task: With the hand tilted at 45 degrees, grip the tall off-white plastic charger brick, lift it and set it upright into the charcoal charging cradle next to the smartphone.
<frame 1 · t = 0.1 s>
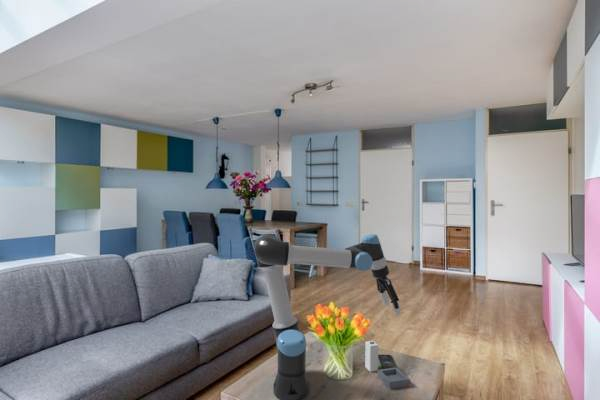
hand: (392, 309, 166), 28 cm above the table, tool tilted 20°, fingers open, 13 cm apart
charging cradle: (393, 381, 155), on the table
smartphone: (386, 363, 172), on the table
charger: (371, 368, 166), on the table
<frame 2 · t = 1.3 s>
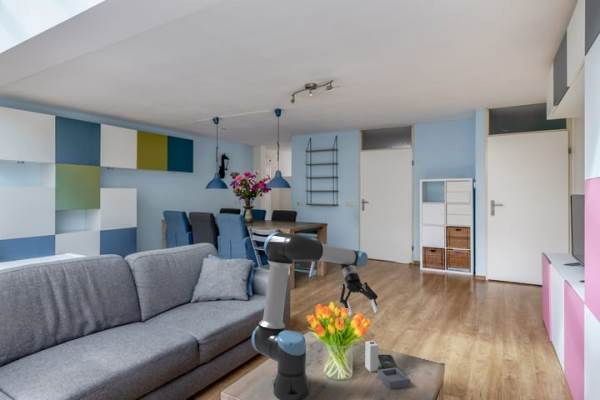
hand: (363, 313, 174), 23 cm above the table, tool tilted 45°, fingers open, 13 cm apart
nothing on the table moved.
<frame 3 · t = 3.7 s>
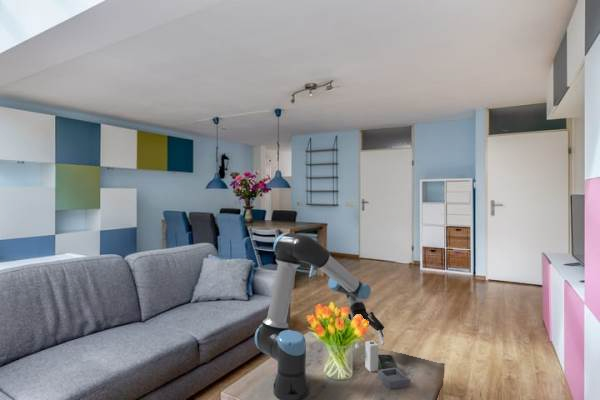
hand: (370, 346, 170), 9 cm above the table, tool tilted 45°, fingers open, 13 cm apart
nothing on the table moved.
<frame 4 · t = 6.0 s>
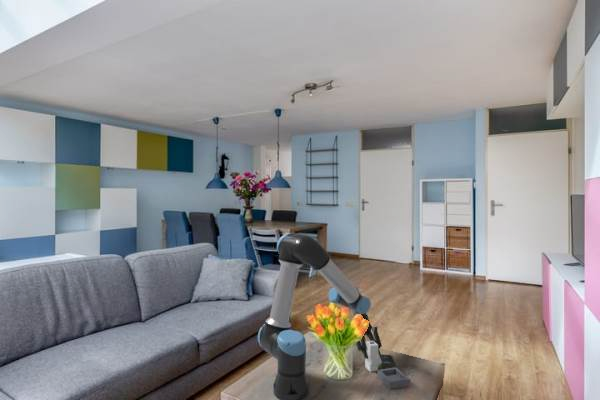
hand: (375, 364, 162), 4 cm above the table, tool tilted 45°, fingers closed on charger, 4 cm apart
charger: (371, 368, 166), on the table, touching gripper
everything else where it was.
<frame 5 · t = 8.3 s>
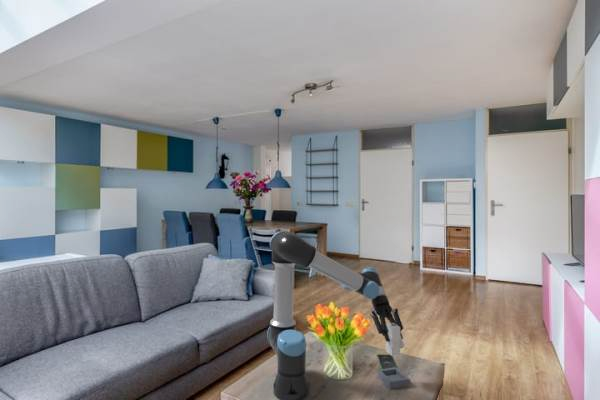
hand: (397, 347, 152), 16 cm above the table, tool tilted 45°, fingers closed on charger, 4 cm apart
charger: (392, 352, 155), point 12 cm above the table, touching gripper
everything else where it was.
when the fingers open (6 cm above the table, at t = 10.9 s): charger drops 1 cm, resting on charging cradle.
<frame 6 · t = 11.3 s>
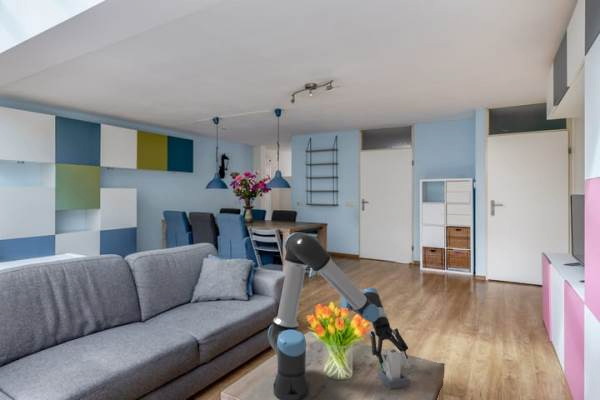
hand: (397, 369, 152), 7 cm above the table, tool tilted 45°, fingers open, 9 cm apart
charger: (393, 378, 155), point 1 cm above the table, touching charging cradle
everything else where it was.
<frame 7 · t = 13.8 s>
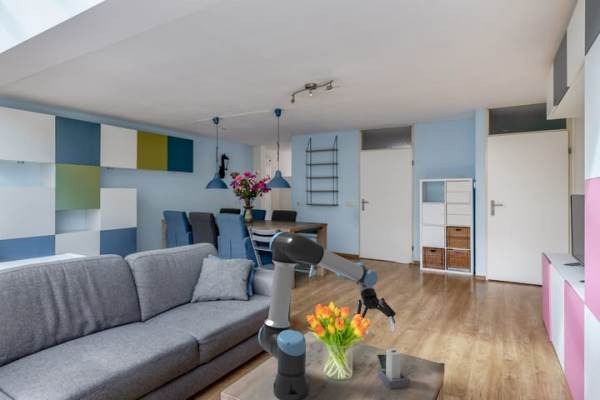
hand: (381, 332, 165), 18 cm above the table, tool tilted 45°, fingers open, 13 cm apart
nothing on the table moved.
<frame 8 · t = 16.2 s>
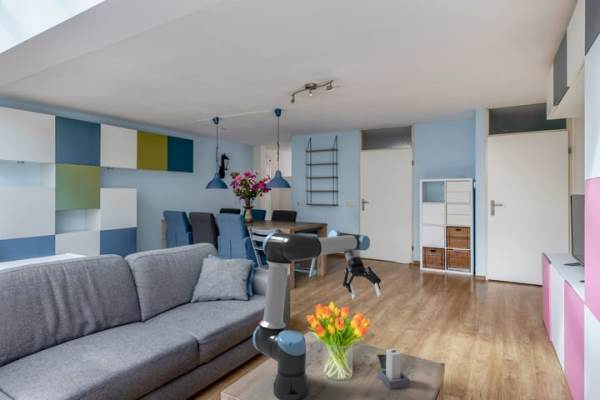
hand: (367, 297, 172), 32 cm above the table, tool tilted 45°, fingers open, 13 cm apart
nothing on the table moved.
at the end: charger 0.0 cm off-centre on the charging cradle, point 1.0 cm above the charging cradle's base; charger tilted 0°; the gripper is holding nothing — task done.
